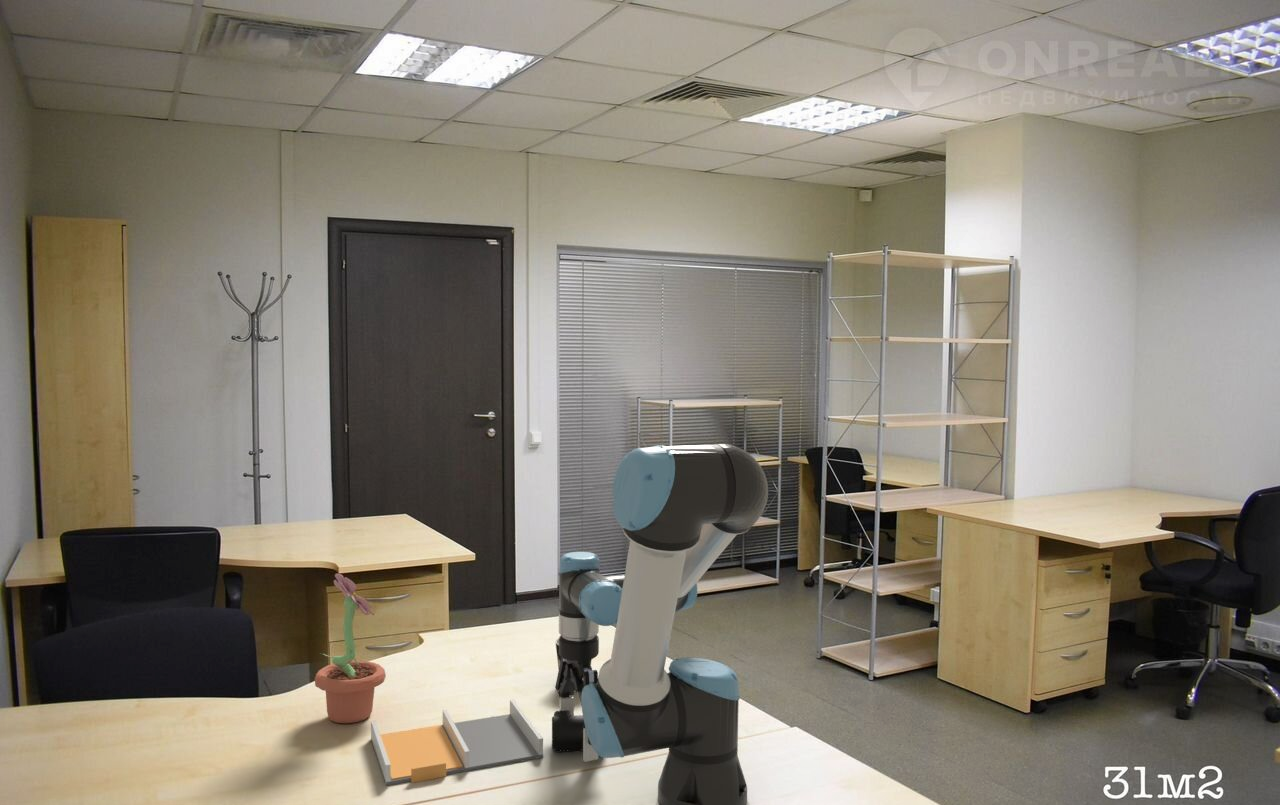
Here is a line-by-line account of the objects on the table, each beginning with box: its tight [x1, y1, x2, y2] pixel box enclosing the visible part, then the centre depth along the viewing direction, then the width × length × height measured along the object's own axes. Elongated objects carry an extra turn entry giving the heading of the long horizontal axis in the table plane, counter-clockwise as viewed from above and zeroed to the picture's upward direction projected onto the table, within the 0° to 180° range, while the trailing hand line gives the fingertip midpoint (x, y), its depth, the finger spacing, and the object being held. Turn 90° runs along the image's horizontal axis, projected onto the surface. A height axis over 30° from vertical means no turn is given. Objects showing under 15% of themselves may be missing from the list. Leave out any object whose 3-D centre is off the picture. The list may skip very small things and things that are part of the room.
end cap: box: [551, 709, 585, 753], centre depth 171 cm, size 10×7×7 cm
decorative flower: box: [314, 573, 386, 724], centre depth 184 cm, size 15×14×30 cm
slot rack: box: [370, 699, 544, 786], centre depth 171 cm, size 21×28×4 cm
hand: (578, 744), depth 171 cm, fingers open, 13 cm apart
